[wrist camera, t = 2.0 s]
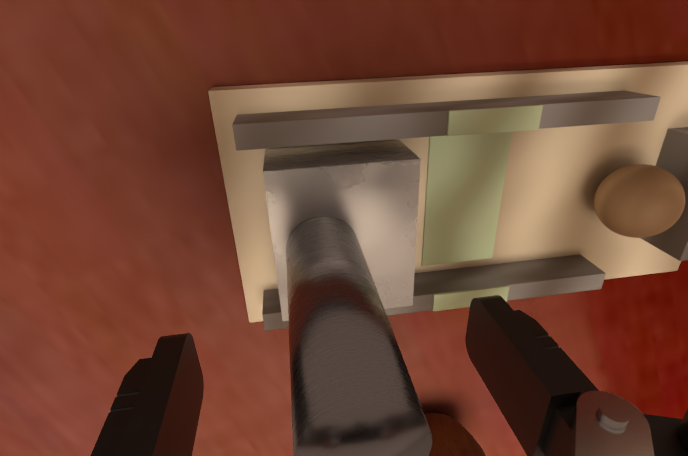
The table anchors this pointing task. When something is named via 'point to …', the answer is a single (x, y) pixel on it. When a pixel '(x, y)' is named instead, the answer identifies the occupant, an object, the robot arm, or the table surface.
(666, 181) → the walnut
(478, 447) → the wooden figurine
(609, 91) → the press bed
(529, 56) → the table surface
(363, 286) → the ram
